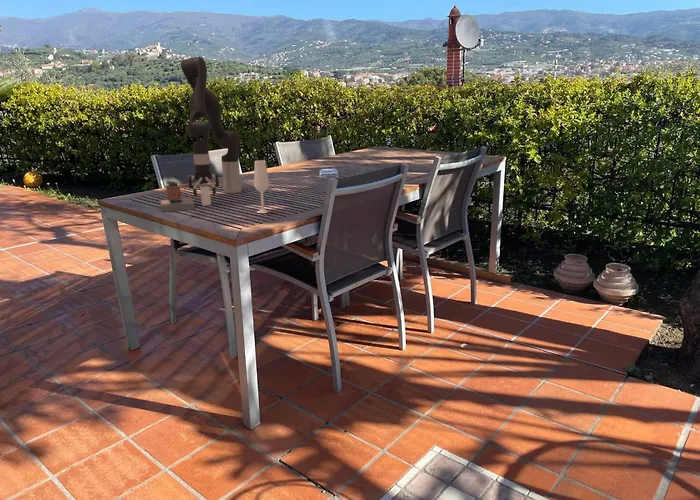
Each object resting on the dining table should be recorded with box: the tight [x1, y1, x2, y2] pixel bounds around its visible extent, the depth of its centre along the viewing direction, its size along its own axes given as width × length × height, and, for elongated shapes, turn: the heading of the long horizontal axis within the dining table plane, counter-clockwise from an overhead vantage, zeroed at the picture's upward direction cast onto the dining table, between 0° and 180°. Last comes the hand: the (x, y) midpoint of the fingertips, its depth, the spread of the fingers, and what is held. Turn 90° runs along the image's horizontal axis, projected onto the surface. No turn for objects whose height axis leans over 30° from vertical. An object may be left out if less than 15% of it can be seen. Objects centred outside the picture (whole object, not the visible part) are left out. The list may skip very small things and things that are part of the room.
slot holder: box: [159, 196, 196, 213], centre depth 247 cm, size 15×15×3 cm
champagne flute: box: [253, 159, 270, 213], centre depth 233 cm, size 7×7×24 cm
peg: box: [199, 185, 212, 207], centre depth 252 cm, size 4×4×9 cm
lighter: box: [165, 180, 182, 199], centre depth 262 cm, size 8×3×10 cm, turn 71°
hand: (204, 195), depth 252 cm, fingers open, 8 cm apart
